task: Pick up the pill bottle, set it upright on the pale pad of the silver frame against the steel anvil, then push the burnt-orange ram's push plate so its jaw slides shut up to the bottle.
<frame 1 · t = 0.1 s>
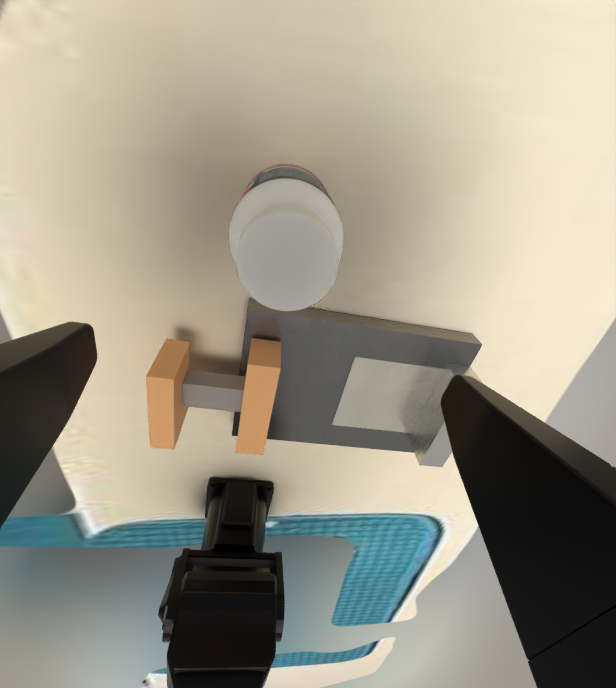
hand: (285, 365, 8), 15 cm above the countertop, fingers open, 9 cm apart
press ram: (216, 399, 23), point 4 cm above the countertop, slide at 0.0 cm
silver frame: (345, 380, 28), on the countertop
pill bottle: (286, 212, 21), on the countertop
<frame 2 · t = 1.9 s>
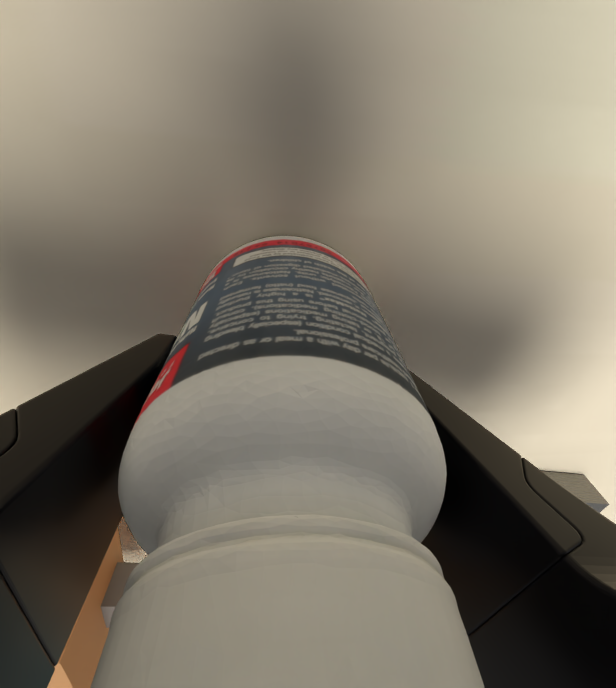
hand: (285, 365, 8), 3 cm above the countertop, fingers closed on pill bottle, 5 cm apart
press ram: (164, 619, 13), point 4 cm above the countertop, slide at 0.0 cm
silver frame: (377, 533, 18), on the countertop
pill bottle: (285, 314, 11), on the countertop, touching gripper
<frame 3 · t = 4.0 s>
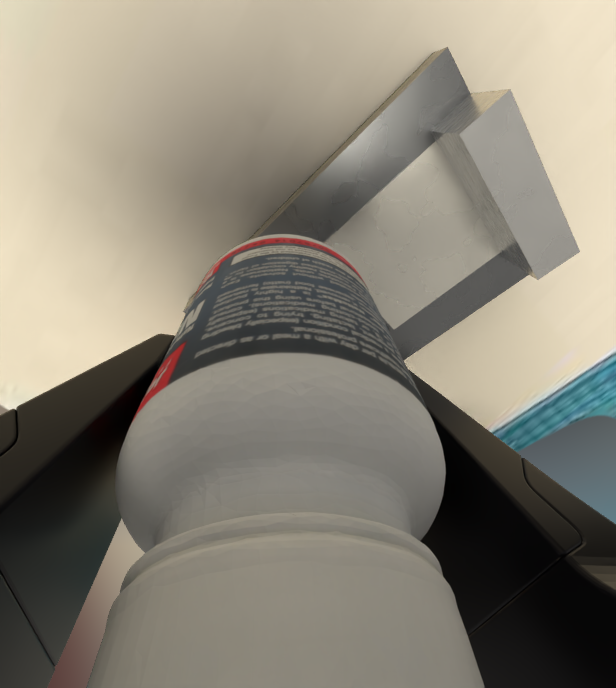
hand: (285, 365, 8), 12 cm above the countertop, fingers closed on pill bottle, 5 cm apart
silver frame: (360, 275, 20), on the countertop
pill bottle: (284, 313, 11), point 9 cm above the countertop, touching gripper
when the fingers open (5 cm above the countertop, at t = 6.1 s): pill bottle drops 1 cm, resting on silver frame.
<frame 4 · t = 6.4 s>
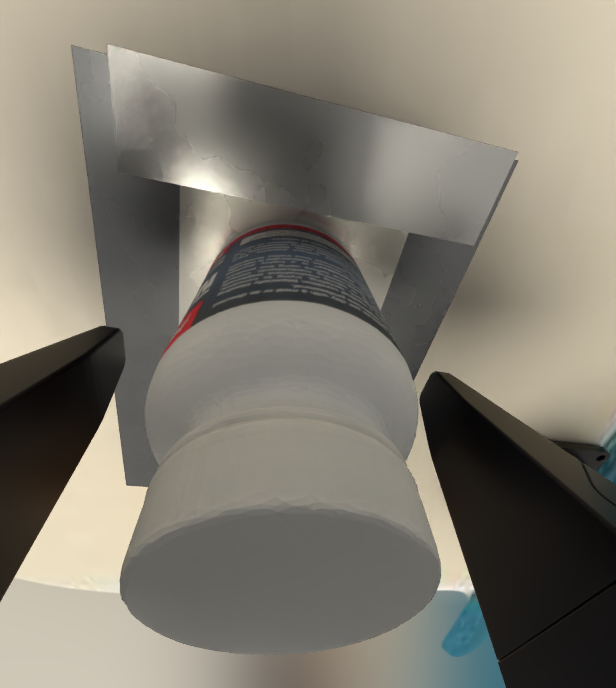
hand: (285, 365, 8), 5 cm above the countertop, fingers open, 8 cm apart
silver frame: (272, 344, 15), on the countertop
pill bottle: (285, 296, 12), point 1 cm above the countertop, touching silver frame
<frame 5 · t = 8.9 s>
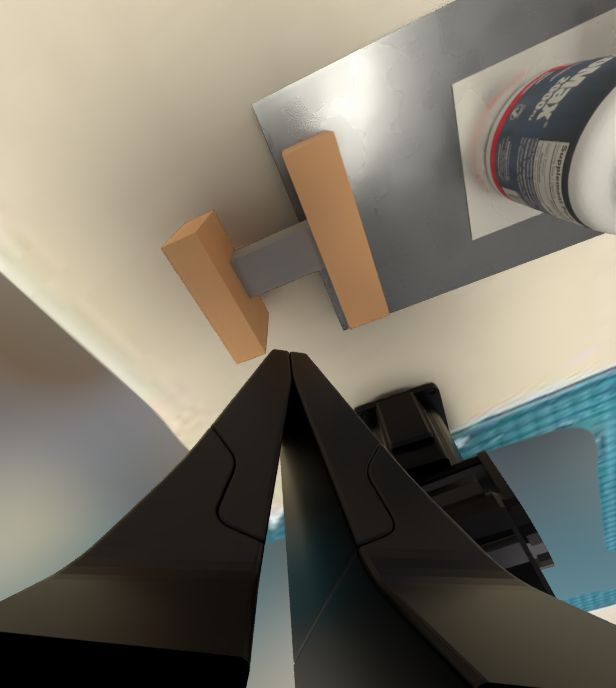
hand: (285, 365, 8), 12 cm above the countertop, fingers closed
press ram: (283, 262, 16), point 4 cm above the countertop, slide at 0.0 cm
silver frame: (459, 163, 17), on the countertop
pill bottle: (538, 139, 16), point 1 cm above the countertop, touching silver frame
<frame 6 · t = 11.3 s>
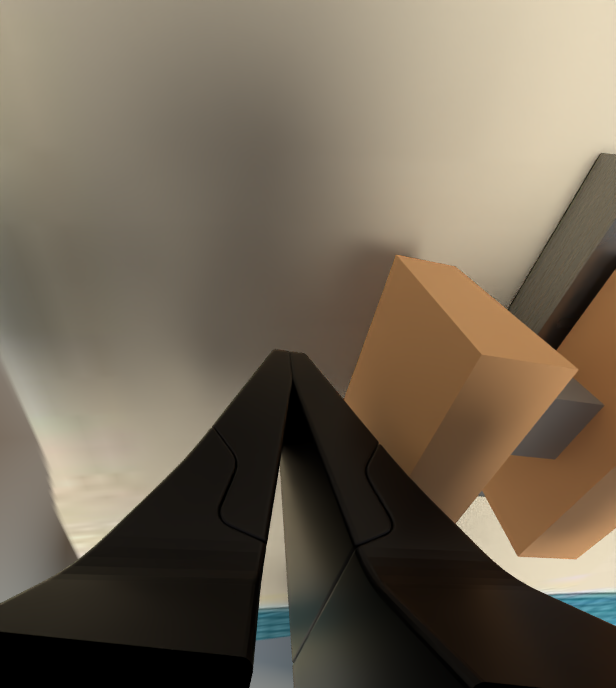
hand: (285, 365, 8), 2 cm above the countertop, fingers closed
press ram: (519, 428, 8), point 4 cm above the countertop, slide at 0.1 cm, touching gripper
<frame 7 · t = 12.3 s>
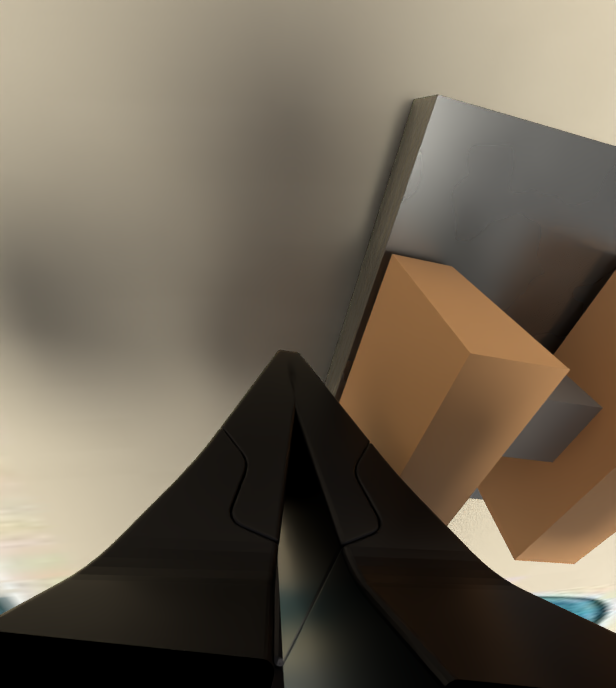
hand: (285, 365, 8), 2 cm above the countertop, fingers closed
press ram: (515, 430, 8), point 4 cm above the countertop, slide at 5.1 cm, touching gripper
silver frame: (571, 364, 12), on the countertop
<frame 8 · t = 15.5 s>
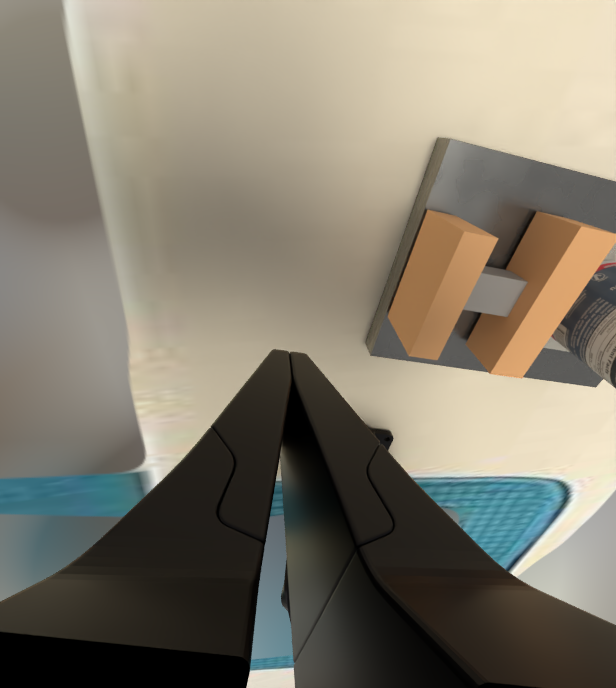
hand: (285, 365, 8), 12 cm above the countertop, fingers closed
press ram: (487, 294, 17), point 4 cm above the countertop, slide at 5.0 cm
silver frame: (524, 281, 21), on the countertop
pill bottle: (581, 299, 20), point 1 cm above the countertop, touching silver frame
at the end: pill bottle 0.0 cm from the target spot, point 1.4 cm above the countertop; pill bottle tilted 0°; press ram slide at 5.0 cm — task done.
